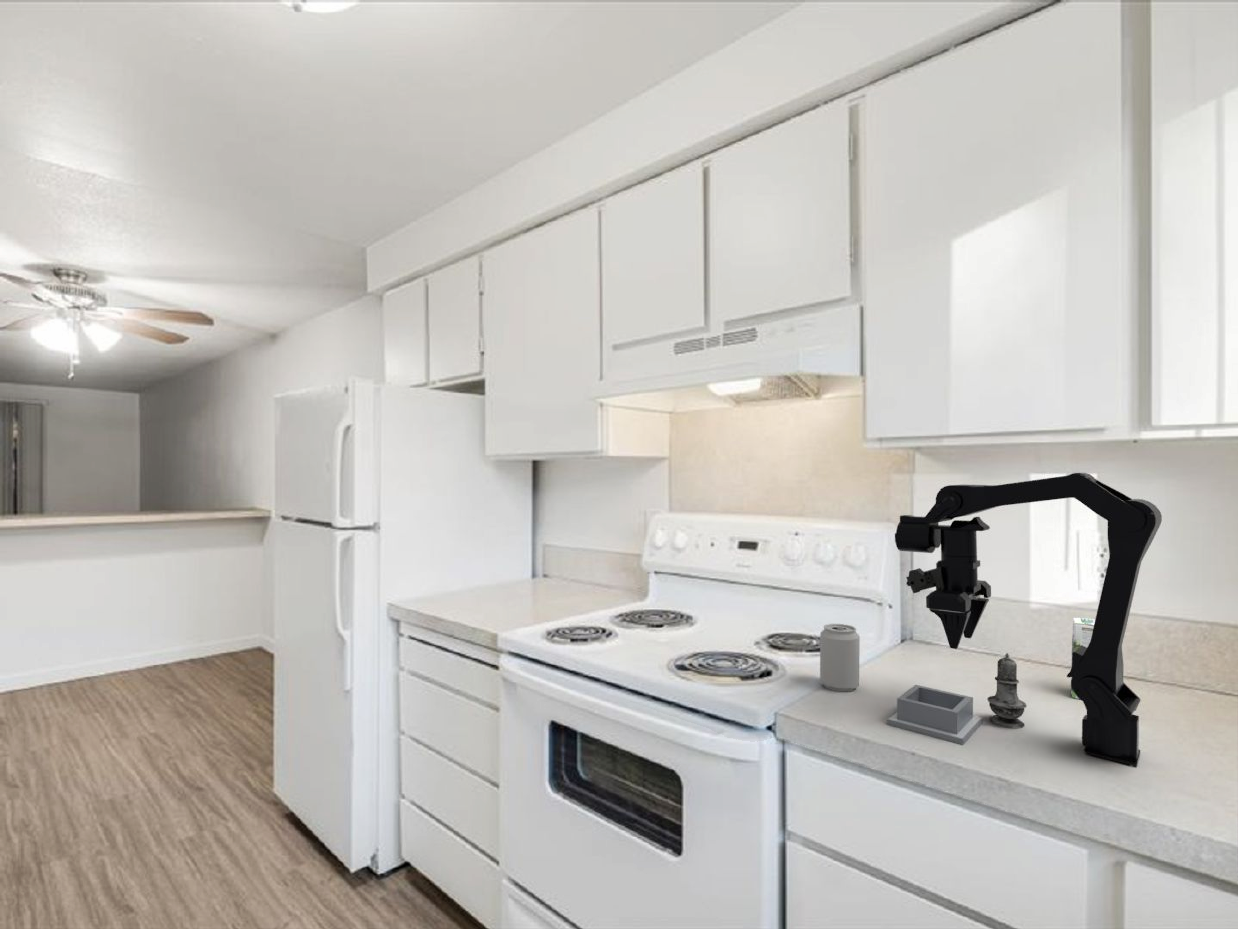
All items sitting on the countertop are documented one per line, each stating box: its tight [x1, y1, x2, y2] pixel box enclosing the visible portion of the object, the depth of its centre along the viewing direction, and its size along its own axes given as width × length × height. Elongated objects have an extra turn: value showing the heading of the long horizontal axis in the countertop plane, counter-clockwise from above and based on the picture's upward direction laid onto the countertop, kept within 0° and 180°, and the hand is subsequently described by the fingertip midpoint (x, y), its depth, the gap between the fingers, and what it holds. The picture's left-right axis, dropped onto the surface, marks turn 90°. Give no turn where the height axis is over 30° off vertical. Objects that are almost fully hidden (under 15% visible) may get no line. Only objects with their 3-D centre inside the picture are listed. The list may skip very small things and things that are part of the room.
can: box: [819, 623, 861, 692], centre depth 133 cm, size 8×8×12 cm
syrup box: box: [1070, 617, 1096, 700], centre depth 127 cm, size 6×6×14 cm
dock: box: [886, 684, 984, 745], centre depth 114 cm, size 12×12×4 cm
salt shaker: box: [987, 652, 1027, 730], centre depth 115 cm, size 6×6×12 cm
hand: (961, 643), depth 118 cm, fingers open, 9 cm apart
